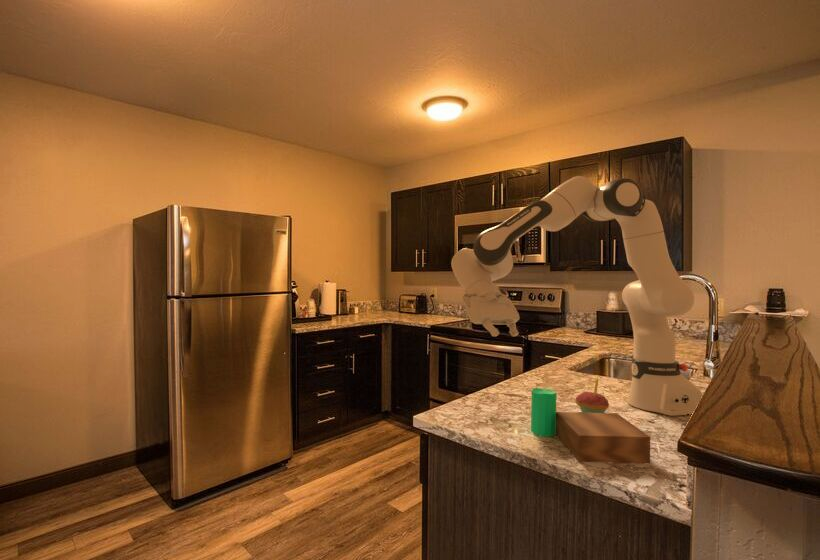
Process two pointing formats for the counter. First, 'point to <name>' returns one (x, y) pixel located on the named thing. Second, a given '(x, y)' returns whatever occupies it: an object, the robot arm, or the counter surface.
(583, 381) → the counter surface
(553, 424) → the candle
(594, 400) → the cupcake
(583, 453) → the walnut block
